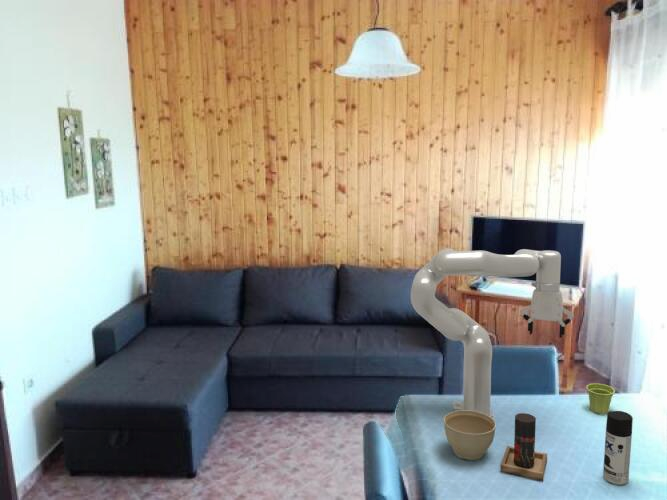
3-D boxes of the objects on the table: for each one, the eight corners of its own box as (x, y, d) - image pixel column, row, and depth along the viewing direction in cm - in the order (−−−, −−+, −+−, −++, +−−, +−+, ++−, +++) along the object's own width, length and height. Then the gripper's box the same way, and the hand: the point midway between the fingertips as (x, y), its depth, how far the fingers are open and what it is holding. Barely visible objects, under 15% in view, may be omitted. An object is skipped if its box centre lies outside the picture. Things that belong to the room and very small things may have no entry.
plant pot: (619, 414, 197) (620, 392, 195) (597, 418, 195) (598, 395, 193) (601, 403, 206) (602, 382, 204) (579, 406, 204) (580, 385, 202)
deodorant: (535, 469, 163) (537, 423, 160) (514, 467, 164) (516, 421, 161) (532, 459, 168) (534, 414, 166) (512, 457, 170) (514, 412, 167)
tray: (500, 471, 163) (500, 464, 163) (507, 452, 174) (507, 445, 174) (542, 481, 158) (543, 474, 158) (546, 460, 169) (547, 453, 168)
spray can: (598, 473, 161) (601, 410, 158) (619, 471, 162) (624, 409, 159) (611, 486, 155) (615, 421, 151) (633, 484, 155) (638, 419, 152)
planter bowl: (494, 470, 165) (495, 436, 163) (441, 462, 169) (441, 430, 167) (495, 443, 180) (496, 412, 178) (446, 437, 184) (446, 407, 183)
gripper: (519, 287, 185) (518, 335, 188) (574, 291, 178) (572, 341, 181) (522, 282, 192) (521, 328, 195) (576, 286, 184) (573, 334, 187)
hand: (545, 334), depth 188 cm, fingers open, 9 cm apart
